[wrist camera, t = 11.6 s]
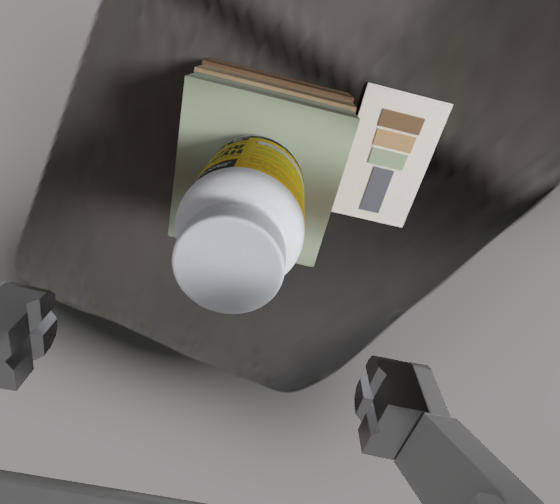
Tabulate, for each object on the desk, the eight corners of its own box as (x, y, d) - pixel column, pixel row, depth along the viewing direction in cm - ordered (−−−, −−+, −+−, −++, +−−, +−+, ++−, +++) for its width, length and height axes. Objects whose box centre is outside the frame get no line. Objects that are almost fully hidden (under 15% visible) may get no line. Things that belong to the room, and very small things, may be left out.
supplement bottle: (246, 110, 21) (210, 160, 12) (323, 175, 22) (341, 262, 13) (189, 186, 23) (123, 276, 14) (263, 241, 24) (245, 353, 15)
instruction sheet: (367, 82, 28) (368, 82, 28) (452, 103, 28) (454, 104, 28) (328, 210, 33) (328, 211, 32) (401, 226, 33) (402, 228, 33)
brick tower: (211, 58, 28) (177, 64, 20) (348, 93, 28) (370, 113, 20) (193, 190, 32) (160, 239, 24) (312, 217, 33) (317, 273, 25)
